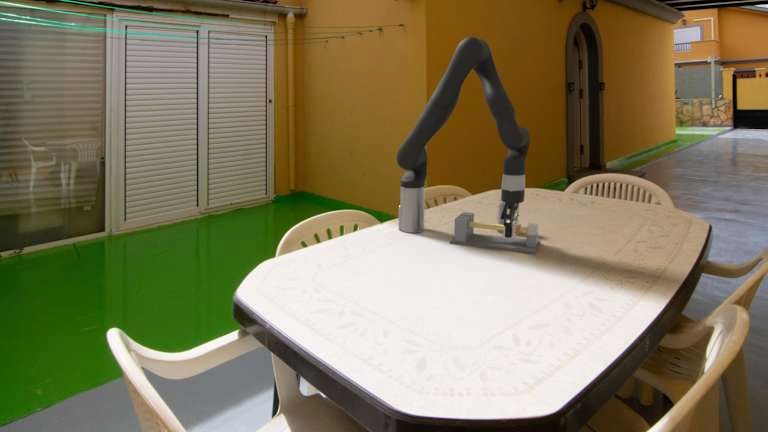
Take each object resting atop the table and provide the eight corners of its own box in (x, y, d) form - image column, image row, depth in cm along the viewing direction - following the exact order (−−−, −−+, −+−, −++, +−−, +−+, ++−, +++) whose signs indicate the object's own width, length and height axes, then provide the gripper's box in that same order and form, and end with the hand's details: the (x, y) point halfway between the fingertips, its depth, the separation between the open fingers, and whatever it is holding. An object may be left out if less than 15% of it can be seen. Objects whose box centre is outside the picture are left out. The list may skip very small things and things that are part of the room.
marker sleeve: (503, 236, 156) (503, 222, 154) (506, 232, 160) (506, 219, 159) (515, 238, 154) (516, 223, 153) (517, 234, 158) (518, 220, 157)
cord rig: (454, 240, 161) (454, 218, 159) (462, 232, 170) (463, 211, 168) (534, 250, 149) (535, 226, 147) (538, 240, 159) (540, 218, 157)
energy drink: (511, 233, 171) (513, 202, 168) (496, 233, 172) (498, 202, 169) (510, 229, 176) (512, 199, 173) (496, 229, 177) (497, 199, 174)
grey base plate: (449, 243, 161) (449, 240, 161) (459, 234, 172) (459, 231, 171) (535, 253, 149) (535, 251, 149) (540, 243, 159) (540, 240, 159)
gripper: (505, 183, 161) (503, 227, 165) (497, 190, 148) (495, 238, 152) (528, 184, 158) (525, 229, 162) (521, 192, 145) (518, 241, 149)
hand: (510, 233), depth 157 cm, fingers open, 8 cm apart
